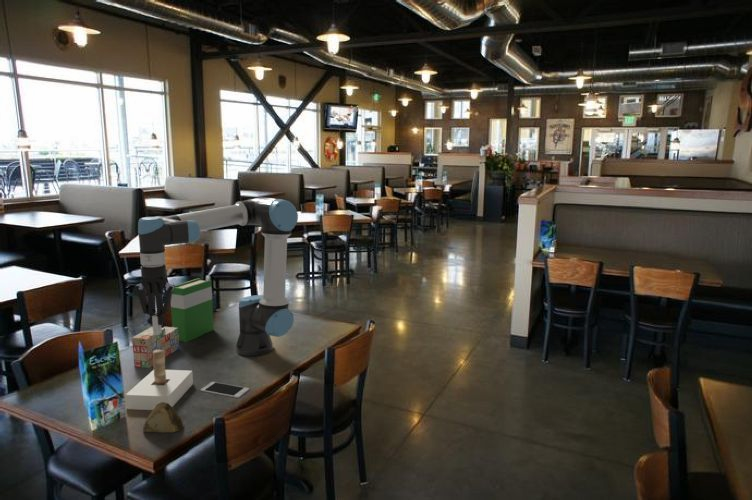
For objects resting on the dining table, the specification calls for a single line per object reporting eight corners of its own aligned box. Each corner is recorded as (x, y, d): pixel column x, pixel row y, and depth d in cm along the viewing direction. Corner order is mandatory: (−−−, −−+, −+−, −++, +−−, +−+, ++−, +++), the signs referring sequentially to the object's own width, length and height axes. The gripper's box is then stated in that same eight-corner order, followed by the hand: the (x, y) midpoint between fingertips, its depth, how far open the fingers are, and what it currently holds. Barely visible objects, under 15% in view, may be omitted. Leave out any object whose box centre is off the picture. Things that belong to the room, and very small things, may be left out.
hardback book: (201, 327, 247) (198, 278, 243) (213, 330, 244) (211, 280, 240) (172, 339, 231) (169, 286, 227) (185, 342, 229) (183, 289, 224)
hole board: (193, 383, 189) (192, 370, 188) (168, 410, 169) (168, 396, 168) (154, 382, 190) (154, 369, 189) (126, 409, 170) (125, 394, 169)
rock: (131, 428, 154) (156, 432, 150) (142, 399, 158) (166, 402, 154) (158, 435, 163) (182, 439, 159) (168, 407, 167) (191, 410, 162)
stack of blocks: (166, 347, 223) (164, 319, 221) (179, 348, 222) (178, 320, 219) (134, 367, 202) (131, 336, 200) (148, 368, 201) (146, 338, 199)
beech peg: (169, 393, 181) (166, 349, 178) (164, 398, 178) (161, 354, 175) (158, 392, 182) (155, 349, 178) (153, 398, 178) (150, 353, 175)
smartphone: (238, 399, 179) (238, 396, 179) (200, 391, 184) (199, 389, 184) (249, 390, 186) (249, 388, 186) (212, 383, 190) (212, 381, 190)
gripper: (127, 266, 167) (132, 336, 172) (168, 267, 167) (172, 338, 171) (139, 261, 175) (143, 329, 179) (178, 262, 174) (181, 330, 179)
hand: (157, 333), depth 175 cm, fingers closed
